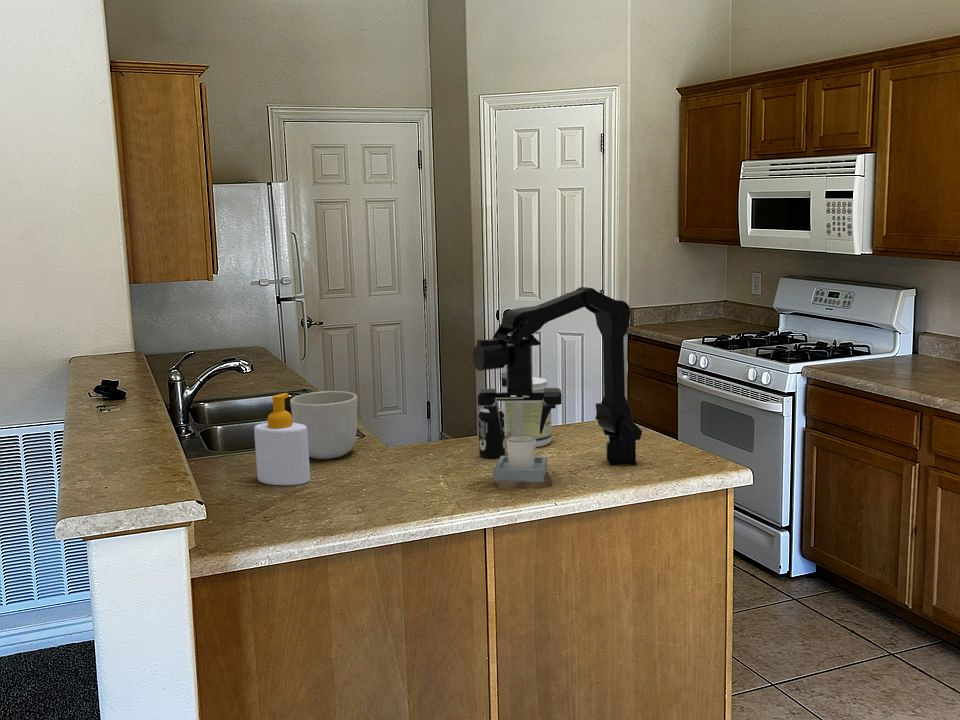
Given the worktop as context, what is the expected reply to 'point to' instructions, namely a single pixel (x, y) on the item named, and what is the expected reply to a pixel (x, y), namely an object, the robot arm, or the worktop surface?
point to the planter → (327, 421)
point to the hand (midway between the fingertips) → (520, 433)
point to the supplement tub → (528, 416)
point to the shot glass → (521, 451)
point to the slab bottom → (524, 483)
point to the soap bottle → (281, 448)
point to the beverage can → (491, 435)
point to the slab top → (520, 471)
